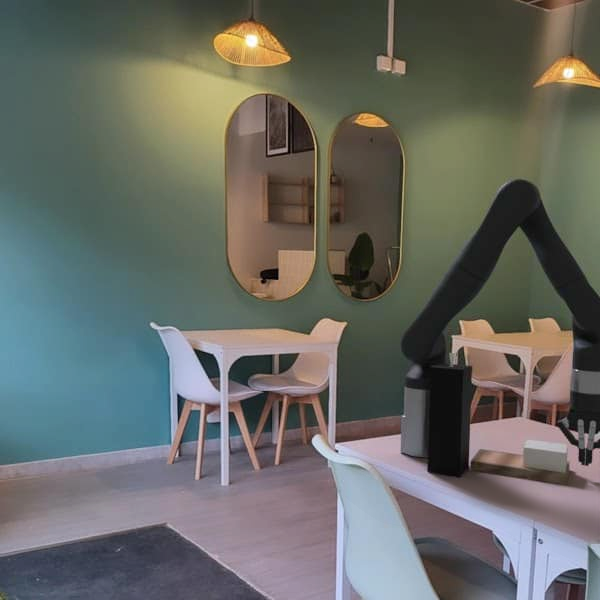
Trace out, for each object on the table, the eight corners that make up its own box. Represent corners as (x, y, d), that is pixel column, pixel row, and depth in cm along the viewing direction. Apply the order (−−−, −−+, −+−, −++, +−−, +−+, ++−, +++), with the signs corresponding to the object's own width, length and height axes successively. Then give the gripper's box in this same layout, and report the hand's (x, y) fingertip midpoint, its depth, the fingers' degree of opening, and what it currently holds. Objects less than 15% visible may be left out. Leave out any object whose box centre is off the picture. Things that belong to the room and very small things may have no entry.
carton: (523, 466, 138) (523, 447, 138) (526, 457, 145) (527, 439, 145) (565, 472, 134) (566, 453, 134) (566, 463, 141) (567, 444, 141)
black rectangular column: (469, 469, 142) (472, 352, 141) (460, 478, 135) (464, 355, 134) (437, 463, 146) (440, 349, 145) (426, 471, 139) (430, 352, 138)
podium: (470, 469, 141) (470, 461, 141) (479, 456, 152) (479, 448, 152) (567, 484, 132) (567, 475, 132) (569, 469, 143) (569, 461, 143)
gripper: (555, 388, 135) (552, 464, 135) (621, 395, 129) (618, 474, 129) (557, 384, 142) (554, 456, 142) (620, 389, 136) (617, 465, 136)
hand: (585, 464), depth 136 cm, fingers closed
